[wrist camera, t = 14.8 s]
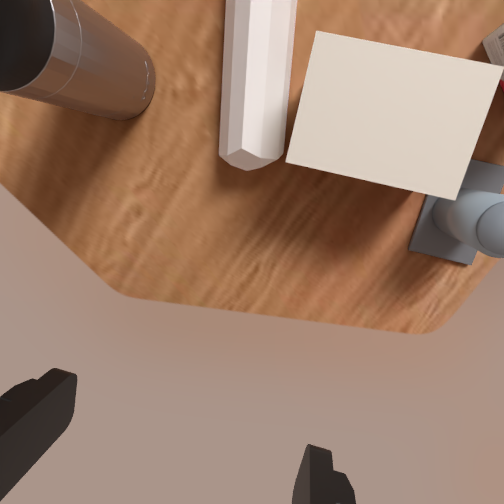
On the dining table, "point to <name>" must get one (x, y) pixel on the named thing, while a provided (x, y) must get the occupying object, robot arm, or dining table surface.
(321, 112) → the cubby
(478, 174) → the mat
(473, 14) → the dining table surface
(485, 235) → the jar
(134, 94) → the robot arm
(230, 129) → the white beveled prism
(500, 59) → the ink box
